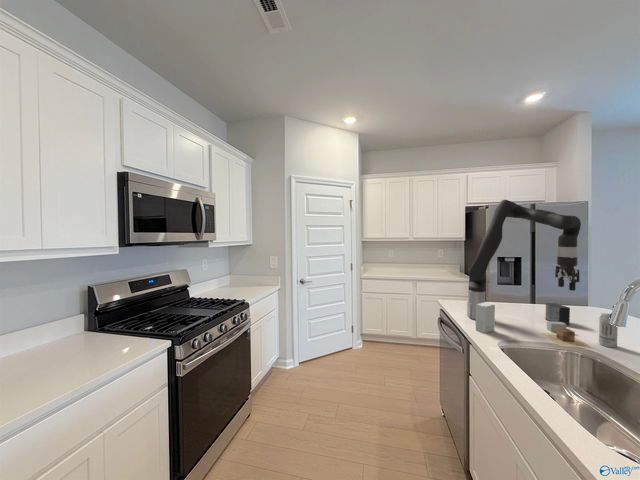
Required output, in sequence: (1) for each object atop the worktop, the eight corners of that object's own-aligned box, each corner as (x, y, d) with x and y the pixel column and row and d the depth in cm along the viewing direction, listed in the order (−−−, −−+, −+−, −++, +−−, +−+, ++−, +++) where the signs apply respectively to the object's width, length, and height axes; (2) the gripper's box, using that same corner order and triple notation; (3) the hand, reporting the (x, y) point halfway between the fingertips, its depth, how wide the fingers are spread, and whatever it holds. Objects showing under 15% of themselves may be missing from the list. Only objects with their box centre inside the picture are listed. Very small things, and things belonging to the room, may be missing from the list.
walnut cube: (562, 341, 137) (562, 331, 137) (556, 337, 142) (556, 327, 142) (574, 342, 136) (574, 332, 136) (567, 338, 141) (568, 328, 141)
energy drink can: (597, 345, 132) (598, 314, 132) (600, 342, 136) (601, 312, 135) (615, 350, 128) (616, 317, 127) (618, 346, 131) (619, 315, 131)
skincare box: (484, 327, 158) (484, 301, 157) (495, 331, 152) (495, 304, 152) (474, 330, 154) (475, 303, 154) (485, 333, 149) (485, 306, 148)
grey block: (551, 332, 150) (551, 323, 150) (546, 330, 154) (547, 321, 154) (566, 333, 148) (566, 324, 148) (561, 331, 152) (561, 322, 152)
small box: (570, 325, 161) (571, 307, 161) (559, 325, 161) (559, 307, 161) (555, 319, 172) (555, 302, 171) (544, 319, 172) (545, 302, 171)
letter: (560, 346, 132) (560, 345, 132) (539, 333, 149) (539, 332, 149) (595, 349, 129) (595, 348, 129) (569, 335, 146) (569, 334, 146)
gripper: (549, 254, 145) (549, 285, 146) (567, 257, 131) (566, 291, 132) (566, 254, 144) (566, 286, 144) (586, 257, 130) (585, 291, 130)
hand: (566, 288), depth 138 cm, fingers open, 8 cm apart
